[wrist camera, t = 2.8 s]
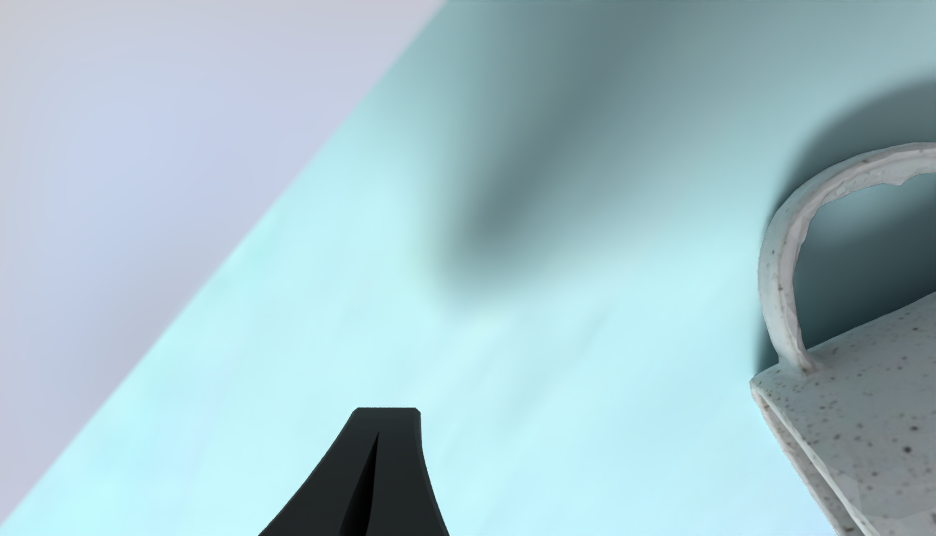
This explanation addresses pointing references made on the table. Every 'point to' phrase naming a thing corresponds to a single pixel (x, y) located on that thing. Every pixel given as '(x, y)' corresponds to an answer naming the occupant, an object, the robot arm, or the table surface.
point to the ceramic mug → (853, 374)
